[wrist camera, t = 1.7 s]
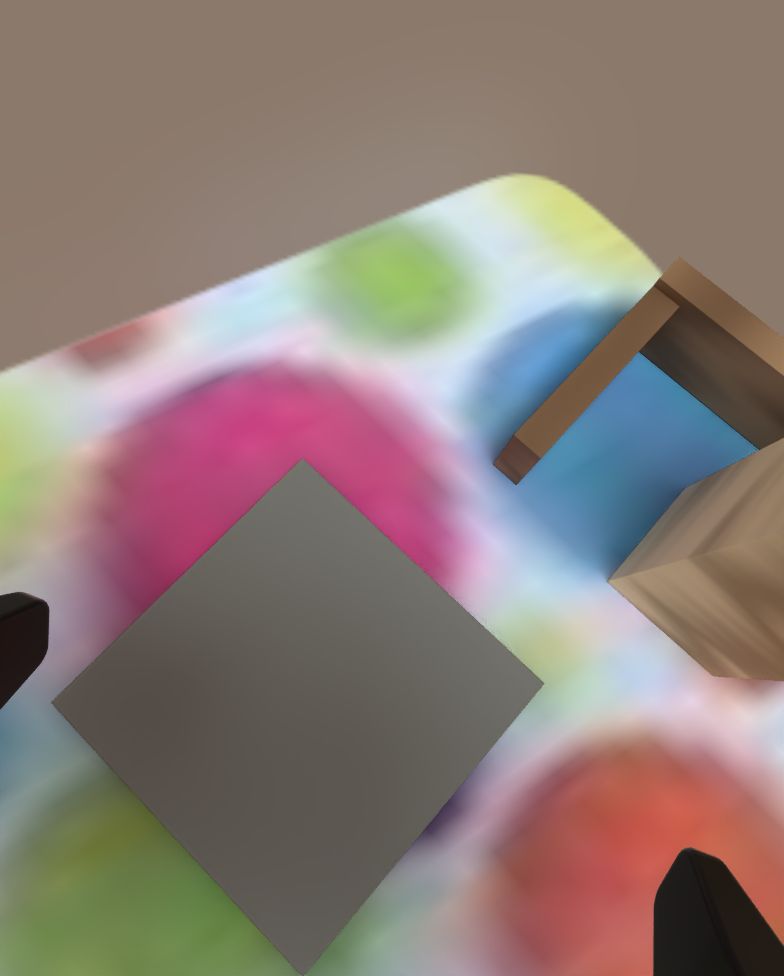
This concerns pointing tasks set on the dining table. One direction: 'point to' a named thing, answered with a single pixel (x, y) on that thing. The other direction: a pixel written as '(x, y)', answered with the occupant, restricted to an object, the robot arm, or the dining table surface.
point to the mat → (299, 709)
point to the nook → (673, 365)
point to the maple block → (719, 569)
